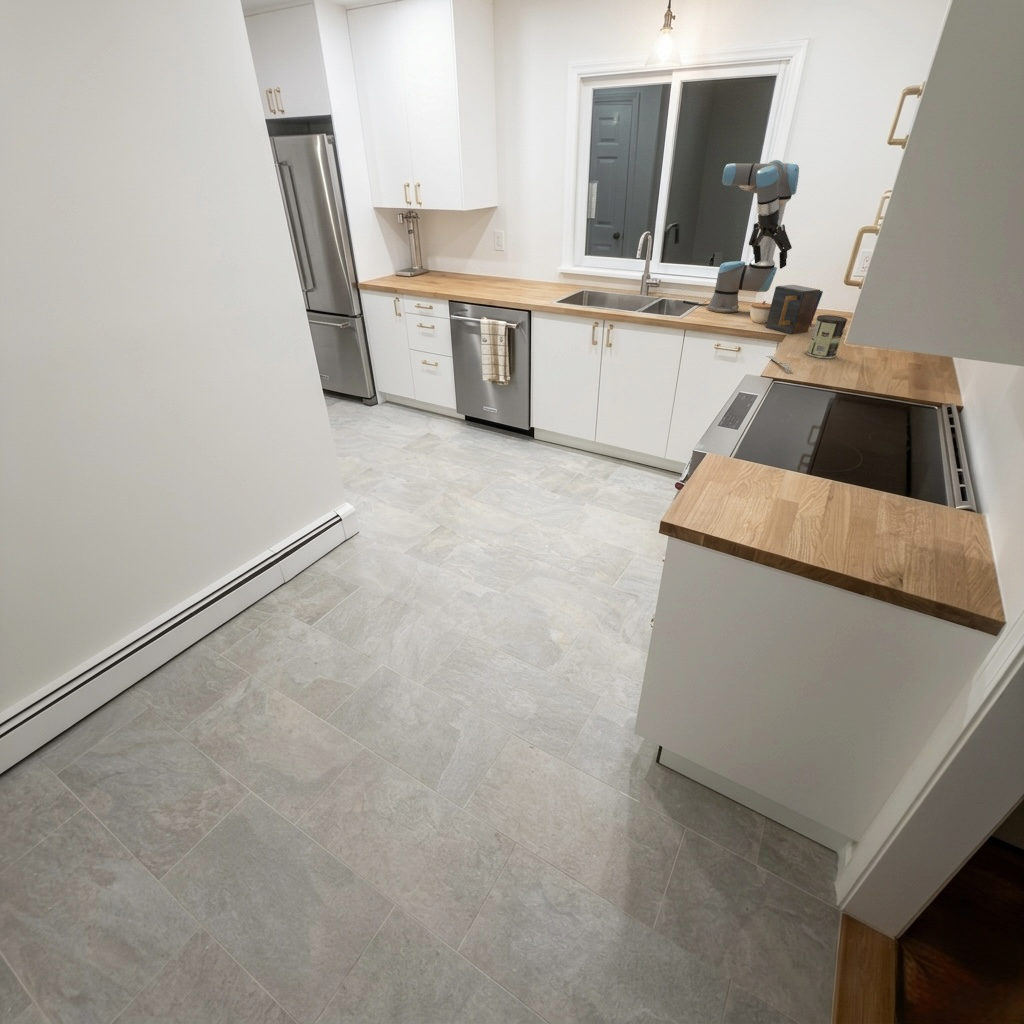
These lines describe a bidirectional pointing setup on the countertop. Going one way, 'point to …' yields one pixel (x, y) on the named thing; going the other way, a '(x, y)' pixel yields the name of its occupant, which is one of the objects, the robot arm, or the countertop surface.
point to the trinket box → (760, 312)
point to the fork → (781, 363)
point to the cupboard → (804, 307)
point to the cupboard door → (784, 309)
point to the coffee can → (826, 336)
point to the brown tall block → (816, 304)
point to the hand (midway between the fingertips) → (770, 264)
